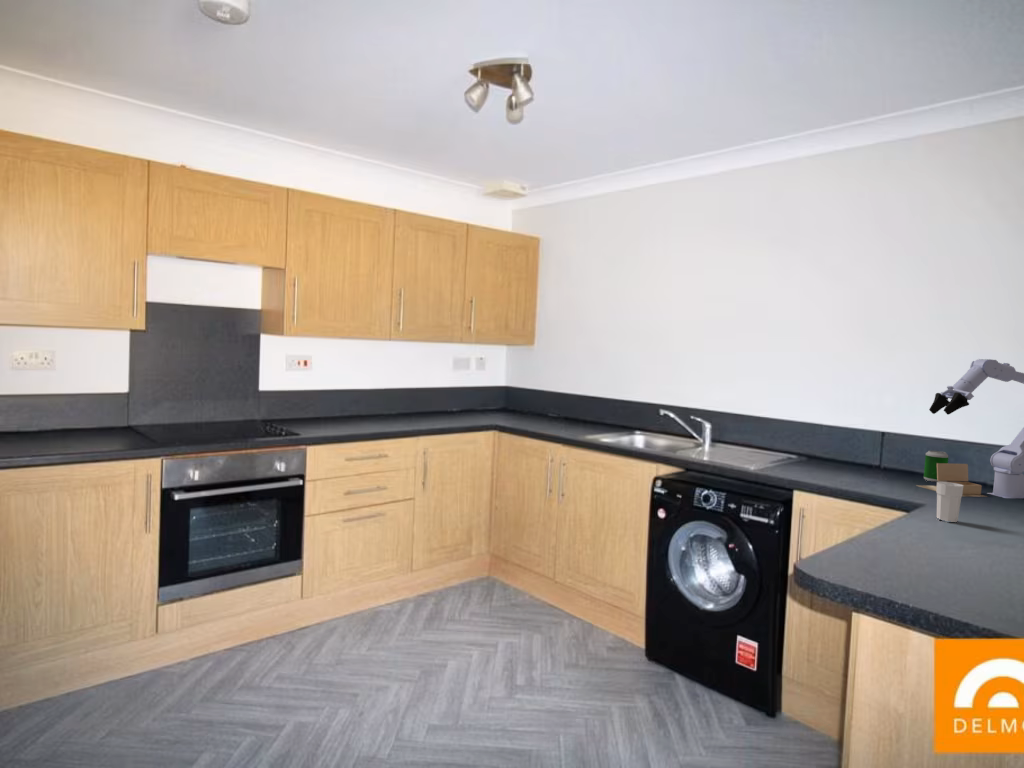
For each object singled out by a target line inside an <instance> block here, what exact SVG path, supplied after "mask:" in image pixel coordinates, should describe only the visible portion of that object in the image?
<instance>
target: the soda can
mask: <svg viewBox="0 0 1024 768" xmlns="http://www.w3.org/2000/svg"><path fill="white" fill-rule="evenodd" d="M937 463H948V464H949V455H948V453H947V452H945V451H940V450H939V451H938V450H928V451H927V452H925V459H924V468H923V469H924V470H923V480H925V481H926V480H927V481H931V483H932V482H934V483H937V482H938V481H937ZM927 481H926V482H927Z"/></svg>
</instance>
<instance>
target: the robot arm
mask: <svg viewBox="0 0 1024 768" xmlns="http://www.w3.org/2000/svg"><path fill="white" fill-rule="evenodd" d="M987 378H990V379H994V380H998V381H1001V382H1005V383H1007V382H1010V381H1014V382H1017V383H1020V384H1023V385H1024V372H1020V371H1017V370H1016V368H1015V367H1014V366H1012V365H1011V364H1010V363H1009V362H1003V363H1002V362H999V361H998V360H997V359H990V358H989V359H987V358H985V359H983V358H978V359H975V360H973V361H971V363H970V368H969V369H968V370H967V371H966V372H965V374H963V375H962V376H961V377H960V378H959V379H958V380H957V381H956V382H954V384H953V385H947V386H946V390H944V391H941V392H937V393H935V395H934V400H933V403H932V404H931V406H930V407H929V411H930V413H932V414H933V415H935V414H937V413H938V412H939V411H941V410H942V409H943V412H945V414H946V415H951V414H952V413H954V412H956V411H957V410H959V409H962V408H964V407H968V406H970V402H969V401H971V400H972V399H973V398H974V397H975V396H974V395H973V392H974V391H975V390H976V389H978V388H979V386H980V385H981V384H982V383H983V382H984V381H986V380H987ZM949 399H950V401H949ZM989 460H990V464H991V467H992V468H993V471H994V479H993V480H994V481H993V490H992V492H987V494H989V495H992V496H996V497H999V498H1003V499H1024V474H1023V473H1024V426H1023V427H1022V428H1021V430H1020V431H1019V432H1018V434H1017V435H1016V436H1015V437H1014V438H1013V440H1012V441H1011V443H1009V444H1007V445H1004V446H1003V447H1000V448H999V450H997V451H996V452H994V453H993V454H992V455H991V456H990V459H989Z"/></svg>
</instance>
